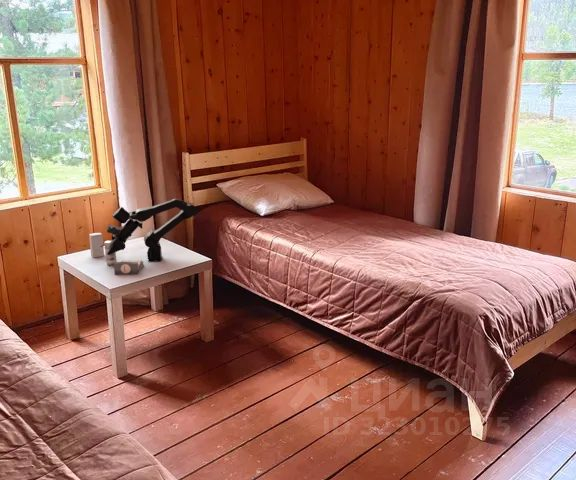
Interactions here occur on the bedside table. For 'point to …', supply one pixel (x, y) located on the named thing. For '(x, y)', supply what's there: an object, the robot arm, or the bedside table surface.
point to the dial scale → (128, 267)
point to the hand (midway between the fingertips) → (107, 252)
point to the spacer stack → (112, 257)
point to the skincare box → (96, 244)
